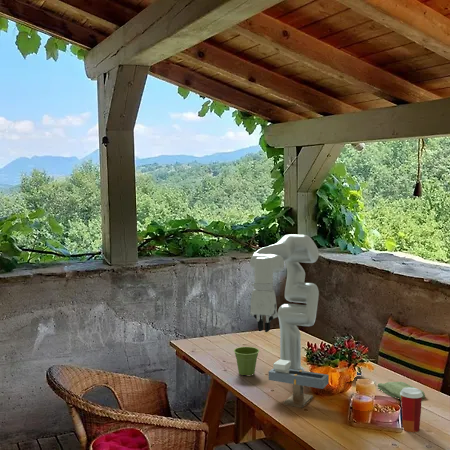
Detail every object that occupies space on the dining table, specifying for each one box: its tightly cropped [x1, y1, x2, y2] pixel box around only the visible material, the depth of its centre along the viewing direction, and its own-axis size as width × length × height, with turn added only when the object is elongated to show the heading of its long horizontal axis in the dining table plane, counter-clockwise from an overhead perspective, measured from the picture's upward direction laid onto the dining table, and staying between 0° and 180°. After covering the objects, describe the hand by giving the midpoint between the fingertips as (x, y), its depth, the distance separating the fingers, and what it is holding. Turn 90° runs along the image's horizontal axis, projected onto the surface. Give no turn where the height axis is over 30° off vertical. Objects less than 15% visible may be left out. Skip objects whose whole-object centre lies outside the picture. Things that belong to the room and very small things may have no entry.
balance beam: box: [268, 367, 330, 409], centre depth 232 cm, size 23×12×12 cm, turn 62°
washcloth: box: [377, 381, 426, 400], centre depth 240 cm, size 13×18×3 cm
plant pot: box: [233, 346, 260, 376], centre depth 266 cm, size 12×12×11 cm
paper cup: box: [400, 387, 423, 433], centre depth 204 cm, size 8×8×14 cm
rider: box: [272, 358, 291, 373], centre depth 235 cm, size 5×6×5 cm
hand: (264, 330), depth 238 cm, fingers closed
